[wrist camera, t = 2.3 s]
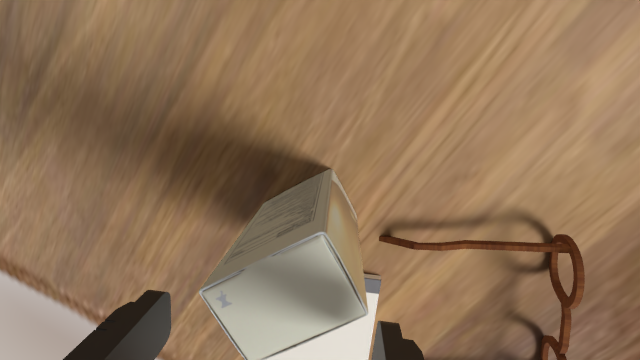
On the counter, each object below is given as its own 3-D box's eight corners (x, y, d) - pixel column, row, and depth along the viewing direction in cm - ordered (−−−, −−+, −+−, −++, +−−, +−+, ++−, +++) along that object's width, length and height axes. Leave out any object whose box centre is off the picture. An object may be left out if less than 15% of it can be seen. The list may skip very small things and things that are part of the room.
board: (257, 259, 27) (255, 264, 26) (380, 275, 26) (381, 280, 26) (251, 378, 30) (248, 384, 29) (361, 394, 30) (361, 401, 29)
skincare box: (289, 247, 26) (242, 372, 15) (262, 201, 26) (188, 294, 14) (361, 213, 25) (373, 319, 13) (335, 164, 24) (323, 230, 13)
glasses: (540, 368, 28) (581, 425, 23) (383, 368, 29) (390, 423, 24) (554, 222, 25) (604, 254, 20) (377, 230, 26) (384, 261, 21)
